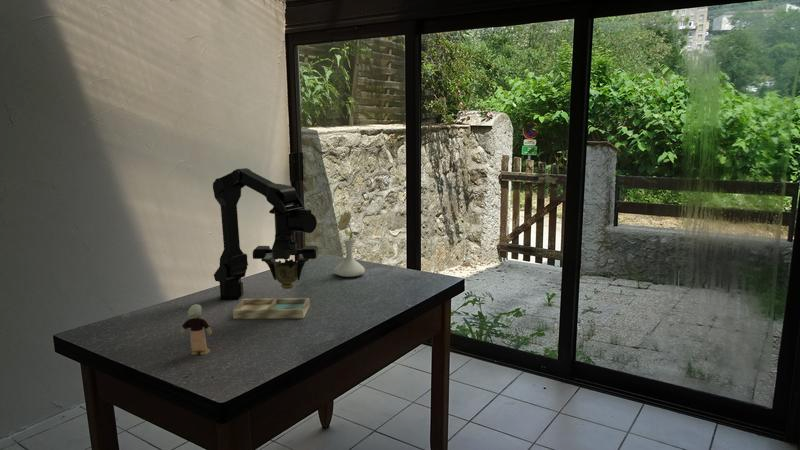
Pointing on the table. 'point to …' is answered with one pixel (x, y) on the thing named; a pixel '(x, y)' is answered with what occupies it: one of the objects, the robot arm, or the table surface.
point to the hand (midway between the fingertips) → (287, 279)
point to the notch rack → (271, 308)
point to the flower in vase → (348, 251)
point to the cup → (286, 273)
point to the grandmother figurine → (197, 330)
